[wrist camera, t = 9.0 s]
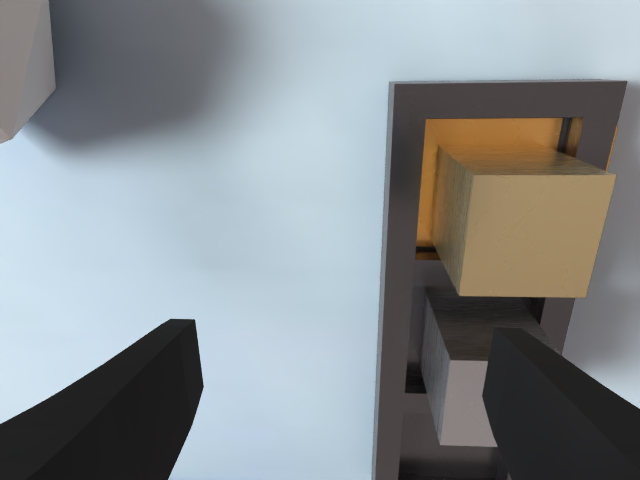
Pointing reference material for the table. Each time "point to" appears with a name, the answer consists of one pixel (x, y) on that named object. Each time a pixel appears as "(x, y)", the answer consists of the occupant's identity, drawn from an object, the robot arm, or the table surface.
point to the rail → (422, 258)
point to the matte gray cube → (465, 359)
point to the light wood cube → (518, 219)
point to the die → (24, 62)
